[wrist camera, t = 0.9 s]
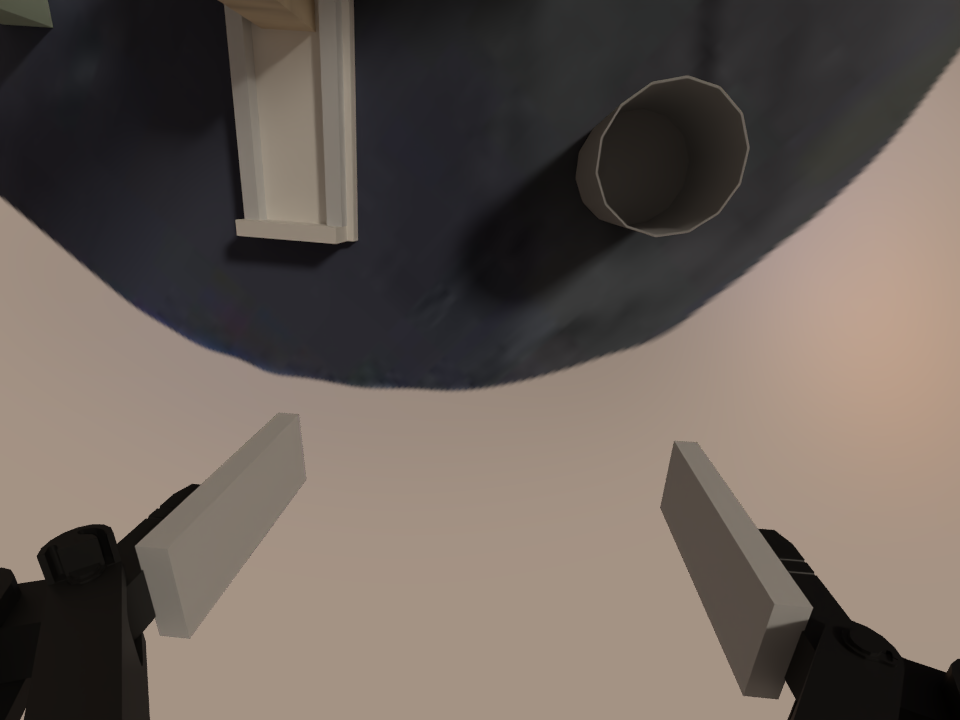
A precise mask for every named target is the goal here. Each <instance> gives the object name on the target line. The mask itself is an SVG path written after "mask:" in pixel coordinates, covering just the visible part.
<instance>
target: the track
mask: <svg viewBox="0 0 960 720" xmlns="http://www.w3.org/2000/svg"><path fill="white" fill-rule="evenodd" d="M314 3H315V27H316V32H310V31H294V30H277V29H262V28H260V27H258V26H257V25H255V24H254V23H252V22H251V21H249V20H248V19H246V18H245V17H243V16H241V15H240V14H238V13H237V12H235V11H234V10H232V9H231V8H229V7H228V6H226V5H225V4H224V10H225V20H226V30H227V41H228V51H229V61H230V72H231V82H232V92H233V103H234V113H235V123H236V134H237V144H238V155H239V165H240V175H241V186H242V196H243V206H244V217H245V219H238V220H235V221H236V230H237V236H246V237H258V238H270V239H282V240H294V241H306V242H318V243H330V244H338V243H342V242H345V241H358V214H357V156H356V98H355V40H354V0H314Z"/></svg>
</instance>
